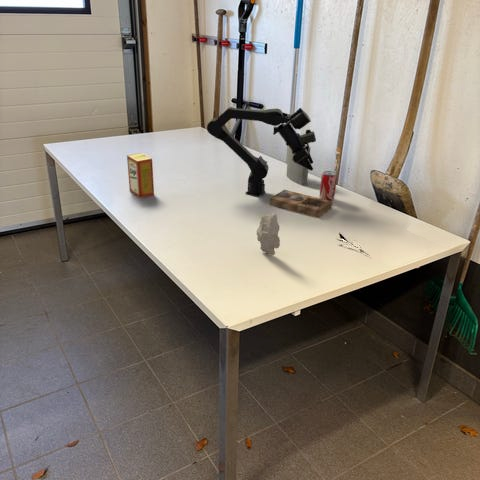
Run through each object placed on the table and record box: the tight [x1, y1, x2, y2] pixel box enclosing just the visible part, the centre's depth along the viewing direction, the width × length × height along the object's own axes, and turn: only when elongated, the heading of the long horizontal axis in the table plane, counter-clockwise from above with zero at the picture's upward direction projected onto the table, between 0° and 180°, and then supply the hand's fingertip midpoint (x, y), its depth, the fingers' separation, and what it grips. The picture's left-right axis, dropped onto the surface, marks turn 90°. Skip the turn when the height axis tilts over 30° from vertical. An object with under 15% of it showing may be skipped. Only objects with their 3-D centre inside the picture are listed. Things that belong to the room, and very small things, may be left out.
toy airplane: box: [338, 232, 369, 255], centre depth 165 cm, size 8×21×2 cm, turn 29°
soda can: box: [318, 170, 338, 202], centre depth 200 cm, size 6×6×12 cm
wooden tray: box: [269, 189, 333, 219], centre depth 195 cm, size 22×12×3 cm, turn 57°
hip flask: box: [285, 144, 311, 187], centre depth 220 cm, size 16×4×20 cm, turn 24°
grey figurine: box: [256, 212, 281, 256], centre depth 155 cm, size 11×4×15 cm, turn 38°
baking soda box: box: [126, 153, 155, 198], centre depth 201 cm, size 10×6×16 cm
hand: (312, 166), depth 199 cm, fingers open, 9 cm apart
